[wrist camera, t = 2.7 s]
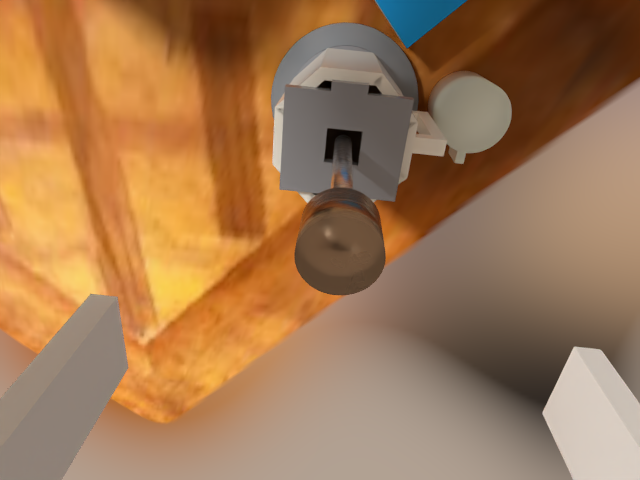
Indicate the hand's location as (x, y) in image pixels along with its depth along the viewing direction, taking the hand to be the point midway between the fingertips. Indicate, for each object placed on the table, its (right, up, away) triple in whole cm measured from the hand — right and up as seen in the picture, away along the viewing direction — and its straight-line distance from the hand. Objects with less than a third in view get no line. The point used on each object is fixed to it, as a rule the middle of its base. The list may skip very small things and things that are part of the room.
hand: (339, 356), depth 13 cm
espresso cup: (+13, +17, +30) cm, 36 cm away
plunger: (+1, +10, +18) cm, 21 cm away
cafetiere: (+3, +16, +30) cm, 34 cm away
